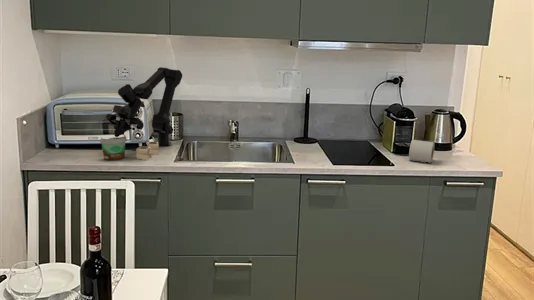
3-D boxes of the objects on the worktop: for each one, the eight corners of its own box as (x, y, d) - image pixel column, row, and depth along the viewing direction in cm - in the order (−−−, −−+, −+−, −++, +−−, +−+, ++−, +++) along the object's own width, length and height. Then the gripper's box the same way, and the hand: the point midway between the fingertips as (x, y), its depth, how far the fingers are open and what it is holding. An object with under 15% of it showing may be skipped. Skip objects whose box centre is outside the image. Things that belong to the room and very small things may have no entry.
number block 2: (147, 152, 251) (147, 141, 250) (158, 152, 252) (158, 141, 251) (148, 155, 246) (147, 144, 245) (158, 154, 247) (158, 143, 246)
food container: (106, 162, 231) (105, 140, 229) (100, 159, 236) (99, 138, 233) (132, 158, 239) (131, 137, 236) (126, 155, 243) (125, 134, 241)
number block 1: (141, 156, 243) (140, 145, 242) (151, 157, 242) (151, 146, 241) (136, 159, 238) (136, 148, 237) (147, 160, 237) (146, 149, 236)
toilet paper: (432, 160, 253) (435, 140, 251) (429, 165, 244) (432, 144, 242) (411, 157, 257) (413, 137, 255) (408, 162, 248) (410, 141, 246)
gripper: (107, 96, 239) (90, 123, 232) (138, 100, 231) (121, 128, 224) (120, 110, 248) (104, 137, 241) (150, 115, 239) (135, 143, 233)
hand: (115, 136), depth 234 cm, fingers closed
